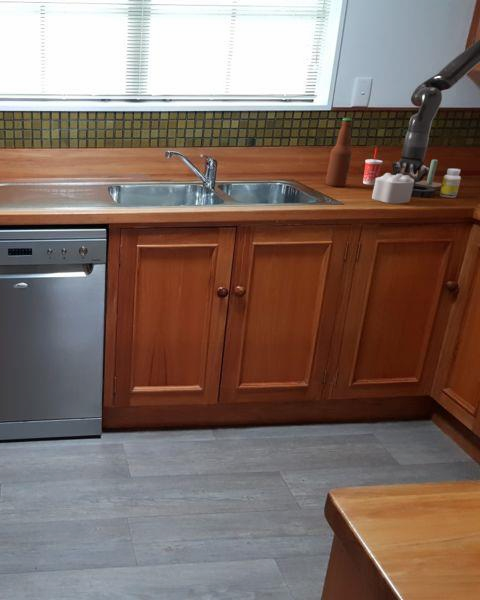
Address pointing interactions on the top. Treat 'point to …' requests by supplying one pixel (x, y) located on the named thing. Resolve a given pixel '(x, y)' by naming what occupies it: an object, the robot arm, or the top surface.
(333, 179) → the bottle
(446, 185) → the supplement bottle
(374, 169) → the beverage cup
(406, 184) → the white bumpy block
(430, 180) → the stand
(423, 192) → the ring
